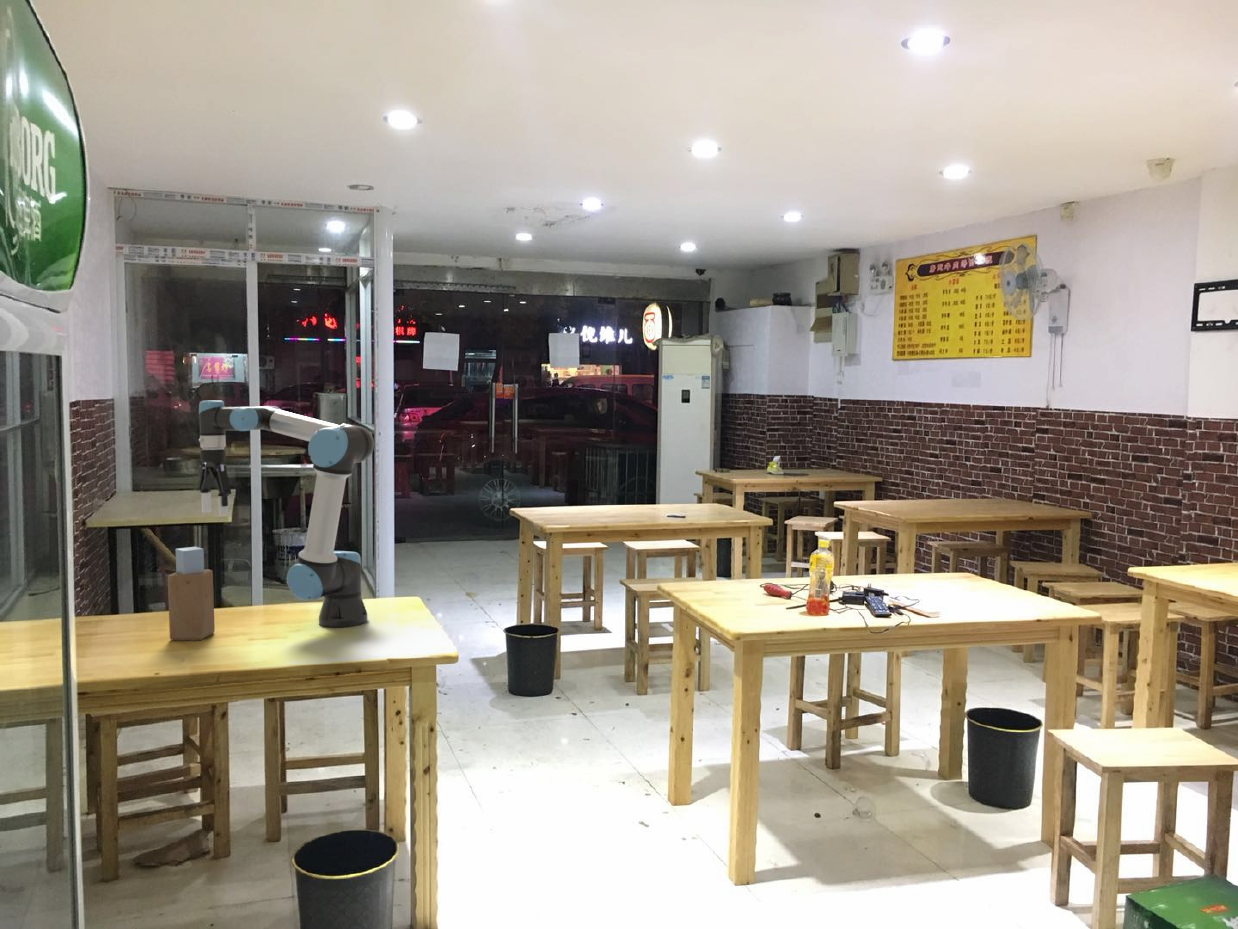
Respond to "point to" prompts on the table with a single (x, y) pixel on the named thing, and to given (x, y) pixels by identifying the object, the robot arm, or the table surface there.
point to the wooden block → (191, 605)
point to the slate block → (189, 560)
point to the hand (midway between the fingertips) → (215, 514)
